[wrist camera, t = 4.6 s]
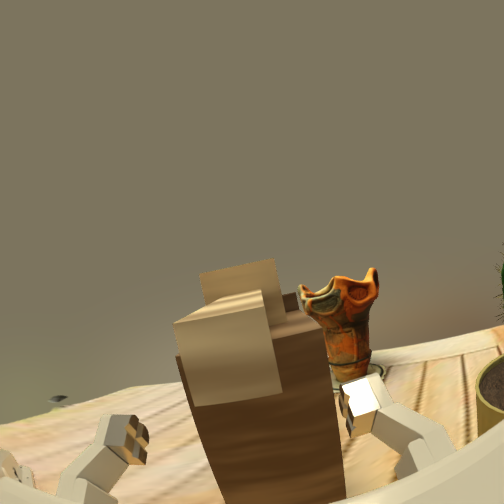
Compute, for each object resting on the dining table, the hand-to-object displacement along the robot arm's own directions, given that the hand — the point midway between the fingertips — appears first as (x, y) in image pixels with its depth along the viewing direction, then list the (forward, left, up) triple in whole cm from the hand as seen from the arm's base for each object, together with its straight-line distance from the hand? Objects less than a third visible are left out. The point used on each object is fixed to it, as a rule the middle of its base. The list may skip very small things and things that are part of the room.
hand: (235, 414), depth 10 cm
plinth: (-14, +10, -26) cm, 31 cm away
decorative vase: (-37, +50, -26) cm, 67 cm away
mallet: (-9, +7, 0) cm, 11 cm away
